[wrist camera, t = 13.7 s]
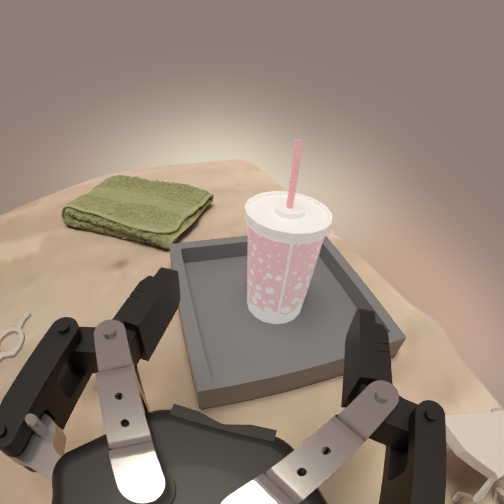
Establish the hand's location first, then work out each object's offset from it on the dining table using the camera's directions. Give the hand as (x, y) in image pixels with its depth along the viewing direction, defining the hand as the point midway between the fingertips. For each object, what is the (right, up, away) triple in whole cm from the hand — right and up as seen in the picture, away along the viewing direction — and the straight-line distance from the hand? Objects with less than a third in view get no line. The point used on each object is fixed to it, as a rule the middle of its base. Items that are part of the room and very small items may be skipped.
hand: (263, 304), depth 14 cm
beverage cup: (+1, -2, +13) cm, 14 cm away
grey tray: (+1, -3, +14) cm, 14 cm away
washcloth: (-15, +7, +26) cm, 31 cm away
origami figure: (+14, -13, +2) cm, 19 cm away
